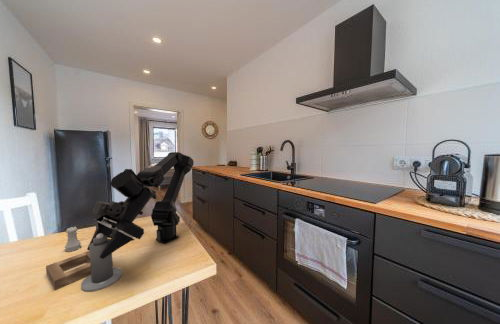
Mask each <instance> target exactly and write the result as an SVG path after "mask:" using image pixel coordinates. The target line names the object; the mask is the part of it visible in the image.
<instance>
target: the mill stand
mask: <svg viewBox="0 0 500 324" xmlns="http://www.w3.org/2000/svg"><path fill="white" fill-rule="evenodd" d="M75 267H76V268H75ZM45 270H46V271H45V272H46V273H45V274H46V276H47V278H48V279H49V281H50V283H51V286H52V287H53V289H54V291H56V290H59V289H61V288H63V287H66V286H68V285H70V284H73V283H75V282H76V281H79V280H82V279H83V278H84V279H85V278H87V277H88V276H89V275H91V266H90V252H89V250H87V251H85V252H82V253H79V254H76V255H73V256H71V257H68V258H65V259H63V260H62V259H61V260H60V261H56V262H52V263H50V264H48V265H46V266H45ZM67 270H68V271H67Z"/></svg>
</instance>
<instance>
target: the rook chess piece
mask: <svg viewBox="0 0 500 324" xmlns="http://www.w3.org/2000/svg"><path fill="white" fill-rule="evenodd" d="M77 231H78V228H77V226H70V227H68V228H66V231H65V233H66V234H67V235H66V237H67V242H66V244H65V246H64V251H66V252H68V253H70V252H74V251H78V249H80V248H81V247H82V245H81V244H82V242H81V241H80V240H79V239H78V236H77V235H78V232H77Z"/></svg>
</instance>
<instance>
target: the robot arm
mask: <svg viewBox="0 0 500 324" xmlns="http://www.w3.org/2000/svg"><path fill="white" fill-rule="evenodd" d="M194 163H195V162H194V159H193V158H192V157H191V156H189V155H186V154H183V153H182V152H179V151H170V152H168V153H167V155H165V157H163V158H162V159H161V160H160V161H159V162H157V163H156V164H155V165H154V166H152V167H151V166H150V167H146V168H144V169H142V170H140V171H139V172H138V173H137V174H136V173H135V172H134V170H133V169H132V168H125V169H124V170H123V171H122V172H119V173H117V174H116V175H115V176H113V178H111V181H110V186H111V187H112V188H114V189H115V190H116V191H117V192H119V194H121V195H122V196H124V197H125V198H126V199H125V200H124V201H122V200H121V201H119V202H118V201H111V202H103V201H99V200H97V201H96V203H95V205H94V207H93V210H92V212H91V213H92V214H95V215H94V216H93V217H92V219H93V220H94V221H93V223H94V224H95V231H94V232H93V235H92V238H91V240H90V242H89V244H88V246H87V248H86V250H87V251H89V245H90V244H91V243H93V239H94V238H95V237H96V236H97V235H98V234H100V233H102V234H103V235H106V236H107V238H109V237H111V238H109V239H110V241H109V242H108V244H107V245H106V247H105V248H104V250H103V252H102V253H101V255H100V258H102V259H104V258H105V257H107V256H108V255H110V254H111V253H112V254H113V253H114V252H116V251H117V250H118V249H120V248H122V247H123V246H126V245H127V244H129V243H130V242H133V241H134V242H135V239H138V240H141V239H142V237H143V236H144V235H145V229H144V228H143V227H141V226H139V225H138V224H136V223H134V222H135V220H136V219H137V217H138V215H140V216H142V215H143V214H144V212H143V209H144V208H145V207H146V205H147V204H148V202H149V201H150V200H151V199H152V200H156V199H157V194H156V192H157V191H155V190H153V189H150V188H159V187H160V186H161V184H162V183H163V182H164V180H165V176H166V174H167V173H168V172H169V171H170V170H171V169H172V168H173V170H174V171H173V174H172V177H171V178H170V182H169V184H168V186H167V189H166V191H165V193H164V196H163V199H161V200H160V201H157V200H156V202H154V207H153V208H152V210H151V211H152V212H151V214H150V218H151V221H152V224H153V226H154V227H155V226H156V227H157V230H156V237H155V240H156V241H158V242H160V243H162V244H164V245H165V244H167V243H169V242H173V241H174V240H177V239H178V238H179V237H180V236H179V235H177V226H178V225H179V223H180V221H181V220H180V219H181V217H180V216H179V214H178V213H177V206H176V202H177V200H178V199H177V198H178V195H179V193H180V190H181V187H182V184H183V182H184V179H185V176H187V174H188V173H190V172H191V171H192V168H193V167H194ZM115 227H117V229H119V231H117V230H115V229H111V228H115ZM111 234H112V236H110V235H111Z"/></svg>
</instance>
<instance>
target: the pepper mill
mask: <svg viewBox="0 0 500 324" xmlns="http://www.w3.org/2000/svg"><path fill="white" fill-rule="evenodd" d="M110 239H111V238H108V237H107V236H106V235H103V234H102V233H100V234H98V235H97V236H96V237H95V238H94V239H93V243H91V244H90V243H89V244H90V245H89V244H88V246H89V250H88V251H89V252H90V266H91V280H92V283H101V282H104V281H106V280H108V279H109V278H111V277H112V276H113V267H114V264H113V263H114V262H113V253H111V254H110V255H108V256H107V257H105V258H104V259H102V258H100V255H101V253H102V252H103V250H104V248H105V247H106V245H107V244H108V242H109V241H110Z"/></svg>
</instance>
